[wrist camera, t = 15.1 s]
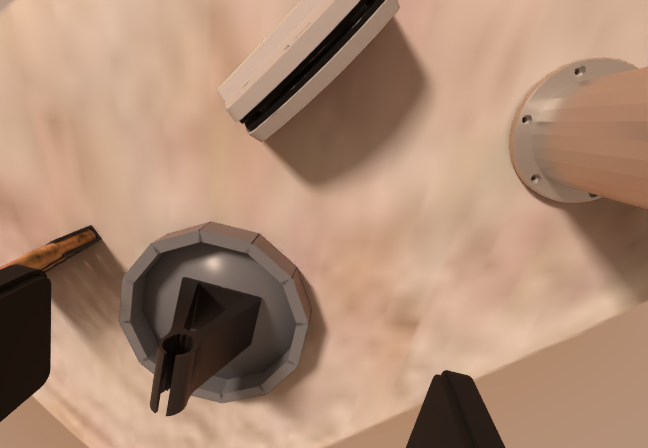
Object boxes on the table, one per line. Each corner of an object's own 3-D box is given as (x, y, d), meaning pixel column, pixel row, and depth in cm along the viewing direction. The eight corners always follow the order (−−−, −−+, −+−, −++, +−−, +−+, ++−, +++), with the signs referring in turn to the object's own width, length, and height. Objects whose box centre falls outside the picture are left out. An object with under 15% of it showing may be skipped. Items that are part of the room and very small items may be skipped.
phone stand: (262, 297, 39) (225, 370, 27) (251, 342, 41) (212, 429, 29) (183, 275, 39) (114, 339, 27) (176, 321, 41) (107, 400, 29)
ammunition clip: (33, 279, 41) (-90, 340, 30) (22, 266, 41) (-106, 322, 29) (102, 238, 39) (-2, 286, 28) (91, 224, 39) (-18, 267, 27)
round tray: (326, 250, 38) (324, 260, 35) (288, 399, 43) (284, 418, 40) (144, 205, 38) (127, 212, 35) (130, 359, 43) (114, 376, 40)
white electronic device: (348, -51, 30) (383, -77, 22) (380, -1, 32) (424, -7, 24) (216, 90, 34) (202, 115, 25) (252, 126, 36) (251, 160, 28)
